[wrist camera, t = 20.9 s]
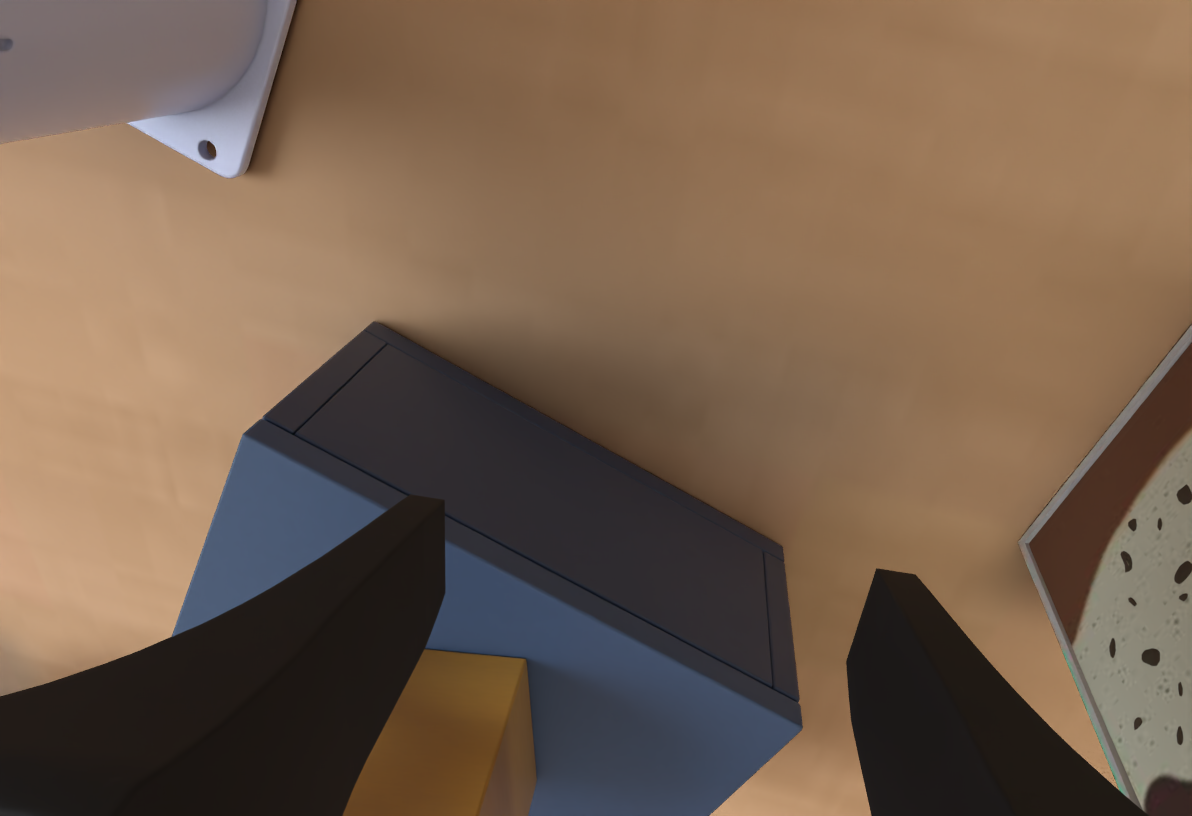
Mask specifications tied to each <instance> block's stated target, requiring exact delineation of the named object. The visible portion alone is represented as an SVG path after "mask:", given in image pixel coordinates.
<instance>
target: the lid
mask: <svg viewBox="0 0 1192 816" xmlns="http://www.w3.org/2000/svg"><path fill="white" fill-rule="evenodd" d="M406 497H407V495H405V494H403V493H401V492H399V491H397V490H396V489H394V488H392V487H390V486H388V485H386V484H384V483H382V482H381V481H379V480H377V479H375V478H373V477H371V476H369V475H367V474H365V473H364V472H362V471H360V470H358V469H356V468H354V467H352V466H350V465H348V464H347V463H345V462H343V461H341V460H339V459H337V458H335V457H333V456H331V455H330V454H328V453H326V452H324V451H322V450H320V449H318V448H316V447H314V446H313V445H311V444H309V443H307V442H305V441H303V440H301V439H299V438H298V437H296V436H294V435H292V434H290V433H288V432H286V431H284V430H282V429H281V428H279V427H277V426H275V425H273V424H271V423H269V422H267V421H265V420H263V419H260V420H259V421H257V422H256V423H255V424H254V425H253V426H252V427H251V428H249V429H248V430H247V431H246V432H245V433H244V434H243V435H242V438H241V440H240V443H239V446H238V449H237V452H236V455H235V458H234V460H233V463H232V466H231V469H230V472H229V475H228V477H227V480H226V483H225V486H224V489H223V492H222V495H221V497H220V500H219V503H218V506H217V509H216V512H215V515H214V517H213V520H212V523H211V526H210V529H209V532H208V535H207V537H206V540H205V543H204V546H203V549H202V552H201V554H200V557H199V560H198V563H197V566H196V569H195V572H194V574H193V577H192V580H191V583H190V586H189V589H188V592H187V594H186V597H185V600H184V603H183V606H182V609H181V611H180V614H179V617H178V620H177V623H176V626H175V629H174V631H173V634H172V636H175V635H177V634H179V633H182V632H184V631H186V630H189V629H191V628H193V627H196V626H198V625H200V624H202V623H204V622H207V621H209V620H211V619H213V618H215V617H217V616H219V615H221V614H223V613H225V612H227V611H229V610H231V609H233V608H235V607H237V606H238V605H240V604H242V603H244V602H246V601H248V600H250V599H252V598H254V597H255V596H257V595H259V594H261V593H263V592H264V591H266V590H268V589H270V588H271V587H273V586H275V585H276V584H278V583H280V582H281V581H283V580H284V579H286V578H288V577H289V576H291V575H292V574H294V573H296V572H297V571H299V570H301V569H302V568H304V567H305V566H307V565H309V564H310V563H312V562H313V561H315V560H317V559H318V558H320V557H321V556H323V555H324V554H326V553H327V552H329V551H330V550H332V549H333V548H335V547H336V546H337V545H339V544H340V543H342V542H343V541H345V540H346V539H348V538H349V537H351V536H352V535H353V534H355V533H356V532H358V531H359V530H360V529H362V528H363V527H365V526H366V525H368V524H369V523H370V522H372V521H373V520H375V519H376V518H377V517H379V516H380V515H381V514H383V513H384V512H386V511H387V510H389V509H390V508H391V507H393V506H394V505H396V504H397V503H398V502H400V501H401V500H403V499H404V498H406ZM445 584H446V593H445V596H444V599H443V602H442V604H441V607H440V610H439V613H438V616H437V618H436V621H435V624H434V627H433V629H432V632H431V634H430V637H429V640H428V642H427V645H426V647H425V649H431V650H441V651H452V652H462V653H472V654H482V655H493V656H503V657H513V658H523V659H526V661H527V671H528V683H529V694H530V706H531V718H532V729H533V741H534V753H535V764H536V776H537V782H536V786H535V790H534V794H533V798H532V802H531V806H530V810H529V814H528V816H709V815H710V814H711V813H713V812H714V811H715V810H716V809H717V808H718V807H719V806H720V805H721V804H722V803H723V802H724V801H726V800H727V799H728V798H729V797H730V796H731V795H732V794H733V793H734V792H735V791H736V790H737V789H738V788H740V787H741V786H742V785H743V784H744V783H745V782H746V781H747V780H748V779H749V778H750V777H751V776H753V775H754V774H755V773H756V772H757V771H758V770H759V769H760V768H761V767H762V766H763V765H764V764H766V763H767V762H768V761H769V760H770V759H771V758H772V757H773V756H774V755H775V754H776V753H777V752H779V751H780V750H781V749H782V748H783V747H784V746H785V745H786V744H787V743H788V742H789V741H790V740H792V739H793V738H794V737H795V736H796V735H797V734H798V733H799V732H800V731H801V730H802V728H803V725H802V716H801V706H800V704H799V703H797V702H796V701H794V700H792V699H790V698H788V697H786V696H784V695H782V694H780V693H779V692H777V691H775V690H773V689H771V688H769V687H767V686H765V685H763V684H762V683H760V682H758V681H756V680H754V679H752V678H750V677H748V676H747V675H745V674H743V673H741V672H739V671H737V670H735V669H733V668H731V667H730V666H728V665H726V664H724V663H722V662H720V661H718V660H716V659H714V658H713V657H711V656H709V655H707V654H705V653H703V652H701V651H699V650H697V649H696V648H694V647H692V646H690V645H688V644H686V643H684V642H682V641H680V640H679V639H677V638H675V637H673V636H671V635H669V634H667V633H665V632H664V631H662V630H660V629H658V628H656V627H654V626H652V625H650V624H648V623H647V622H645V621H643V620H641V619H639V618H637V617H635V616H633V615H631V614H630V613H628V612H626V611H624V610H622V609H620V608H618V607H616V606H614V605H613V604H611V603H609V602H607V601H605V600H603V599H601V598H599V597H597V596H596V595H594V594H592V593H590V592H588V591H586V590H584V589H582V588H580V587H579V586H577V585H575V584H573V583H571V582H569V581H567V580H565V579H564V578H562V577H560V576H558V575H556V574H554V573H552V572H550V571H548V570H547V569H545V568H543V567H541V566H539V565H537V564H535V563H533V562H531V561H530V560H528V559H526V558H524V557H522V556H520V555H518V554H516V553H514V552H513V551H511V550H509V549H507V548H505V547H503V546H501V545H499V544H497V543H496V542H494V541H492V540H490V539H488V538H486V537H484V536H482V535H481V534H479V533H477V532H475V531H473V530H471V529H469V528H467V527H465V526H464V525H462V524H460V523H458V522H456V521H454V520H452V519H450V518H448V517H447V516H445Z"/></svg>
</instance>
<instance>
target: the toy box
mask: <svg viewBox="0 0 1192 816" xmlns="http://www.w3.org/2000/svg"><path fill="white" fill-rule="evenodd" d="M262 419H263V420H265V421H267V422H269V423H271V424H273V425H275V426H277V427H279V428H281V429H282V430H284V431H286V432H288V433H290V434H292V435H294V436H296V437H298V438H299V439H301V440H303V441H305V442H307V443H309V444H311V445H313V446H314V447H316V448H318V449H320V450H322V451H324V452H326V453H328V454H330V455H331V456H333V457H335V458H337V459H339V460H341V461H343V462H345V463H347V464H348V465H350V466H352V467H354V468H356V469H358V470H360V471H362V472H364V473H365V474H367V475H369V476H371V477H373V478H375V479H377V480H379V481H381V482H382V483H384V484H386V485H388V486H390V487H392V488H394V489H396V490H397V491H399V492H401V493H403V494H405V495H407V496H409V495H410V494H412V495H418V496H424V497H430V498H437V499H443V500H445V516H447V517H448V518H450V519H452V520H454V521H456V522H458V523H460V524H462V525H464V526H465V527H467V528H469V529H471V530H473V531H475V532H477V533H479V534H481V535H482V536H484V537H486V538H488V539H490V540H492V541H494V542H496V543H497V544H499V545H501V546H503V547H505V548H507V549H509V550H511V551H513V552H514V553H516V554H518V555H520V556H522V557H524V558H526V559H528V560H530V561H531V562H533V563H535V564H537V565H539V566H541V567H543V568H545V569H547V570H548V571H550V572H552V573H554V574H556V575H558V576H560V577H562V578H564V579H565V580H567V581H569V582H571V583H573V584H575V585H577V586H579V587H580V588H582V589H584V590H586V591H588V592H590V593H592V594H594V595H596V596H597V597H599V598H601V599H603V600H605V601H607V602H609V603H611V604H613V605H614V606H616V607H618V608H620V609H622V610H624V611H626V612H628V613H630V614H631V615H633V616H635V617H637V618H639V619H641V620H643V621H645V622H647V623H648V624H650V625H652V626H654V627H656V628H658V629H660V630H662V631H664V632H665V633H667V634H669V635H671V636H673V637H675V638H677V639H679V640H680V641H682V642H684V643H686V644H688V645H690V646H692V647H694V648H696V649H697V650H699V651H701V652H703V653H705V654H707V655H709V656H711V657H713V658H714V659H716V660H718V661H720V662H722V663H724V664H726V665H728V666H730V667H731V668H733V669H735V670H737V671H739V672H741V673H743V674H745V675H747V676H748V677H750V678H752V679H754V680H756V681H758V682H760V683H762V684H763V685H765V686H767V687H769V688H771V689H773V690H775V691H777V692H779V693H780V694H782V695H784V696H786V697H788V698H790V699H792V700H794V701H796V702H797V703H798V702H799V699H800V697H799V689H798V680H797V671H796V662H795V653H794V644H793V635H792V626H791V617H790V608H789V600H788V591H787V582H786V573H785V564H784V553H783V547H782V546H780V545H779V544H777V543H775V542H773V541H771V540H770V539H768V538H766V537H764V536H762V535H761V534H759V533H757V532H755V531H753V530H752V529H750V528H748V527H746V526H744V525H742V524H741V523H739V522H737V521H735V520H733V519H732V518H730V517H728V516H726V515H724V514H723V513H721V512H719V511H717V510H715V509H714V508H712V507H710V506H708V505H706V504H705V503H703V502H701V501H699V500H697V499H695V498H694V497H692V496H690V495H688V494H686V493H685V492H683V491H681V490H679V489H677V488H676V487H674V486H672V485H670V484H668V483H667V482H665V481H663V480H661V479H659V478H658V477H656V476H654V475H652V474H650V473H649V472H647V471H645V470H643V469H641V468H639V467H638V466H636V465H634V464H632V463H630V462H629V461H627V460H625V459H623V458H621V457H620V456H618V455H616V454H614V453H612V452H611V451H609V450H607V449H605V448H603V447H602V446H600V445H598V444H596V443H594V442H592V441H591V440H589V439H587V438H585V437H583V436H582V435H580V434H578V433H576V432H574V431H573V430H571V429H569V428H567V427H565V426H564V425H562V424H560V423H558V422H556V421H555V420H553V419H551V418H549V417H547V416H546V415H544V414H542V413H540V412H538V411H536V410H535V409H533V408H531V407H529V406H527V405H526V404H524V403H522V402H520V401H518V400H517V399H515V398H513V397H511V396H509V395H508V394H506V393H504V392H502V391H500V390H499V389H497V388H495V387H493V386H491V385H489V384H488V383H486V382H484V381H482V380H480V379H479V378H477V377H475V376H473V375H471V374H470V373H468V372H466V371H464V370H462V369H461V368H459V367H457V366H455V365H453V364H452V363H450V362H448V361H446V360H444V359H443V358H441V357H439V356H437V355H435V354H433V353H432V352H430V351H428V350H426V349H424V348H423V347H421V346H419V345H417V344H415V343H414V342H412V341H410V340H408V339H406V338H405V337H403V336H401V335H399V334H397V333H396V332H394V331H392V330H390V329H388V328H386V327H385V326H383V325H381V324H379V323H377V322H375V321H374V322H372V323H371V324H370V325H369V326H368V327H367V328H365V329H364V330H363V331H362V332H361V333H359V334H358V335H357V336H356V337H355V338H354V339H352V340H351V341H350V342H349V343H348V344H347V345H346V346H344V347H343V348H342V349H341V350H340V351H339V352H337V353H336V354H335V355H334V356H333V357H332V358H330V359H329V360H328V361H327V362H326V363H325V364H323V365H322V366H321V367H320V368H319V369H318V370H316V371H315V372H314V373H313V374H312V375H311V376H309V377H308V378H307V379H306V380H305V381H304V382H302V383H301V384H300V385H299V386H298V387H297V388H295V389H294V390H293V391H292V392H291V393H290V394H288V395H287V396H286V397H285V398H284V399H283V400H281V401H280V402H279V403H278V404H277V405H276V406H274V407H273V408H272V409H271V410H270V411H269V412H267V413H266V414H265V415H264V416H263V418H262Z"/></svg>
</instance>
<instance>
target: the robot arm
mask: <svg viewBox="0 0 1192 816" xmlns="http://www.w3.org/2000/svg"><path fill="white" fill-rule="evenodd" d="M296 2H297V0H0V144H2V143H8V142H14V141H20V140H26V139H32V138H38V137H44V136H50V135H55V134H61V133H67V132H73V131H79V130H85V129H91V128H97V127H103V126H109V125H114V124H120V123H127V124H129V125H131V126H133V127H135V128H136V129H138V130H140V131H142V132H143V133H145V134H147V135H149V136H151V137H152V138H154V139H156V140H158V141H159V142H161V143H163V144H165V145H167V146H168V147H170V148H172V149H174V150H175V151H177V152H179V153H181V154H183V155H184V156H186V157H188V158H190V159H191V160H193V161H195V162H197V163H199V164H200V165H202V166H204V167H206V168H207V169H209V170H211V171H213V172H215V173H216V174H218V175H220V176H222V177H225V178H235V177H238V176H241V175H242V174H244V173H245V172H246V170H247V168H248V166H249V163H250V159H251V156H252V152H253V149H254V145H255V142H256V139H257V135H258V132H259V128H260V125H261V122H262V118H263V115H264V111H265V108H266V104H267V101H268V98H269V94H270V91H271V87H272V84H273V80H274V77H275V74H276V70H277V67H278V63H279V60H280V57H281V53H282V50H283V46H284V43H285V39H286V36H287V33H288V29H289V26H290V22H291V19H292V16H293V12H294V9H295V5H296ZM208 141H210V142H211V143H212V144H213V145H214V146H215V148H216V157H213V156H212V155H211V154H210V153H209V151H208V149H207V142H208ZM445 593H446V584H445V500H443V499H437V498H430V497H424V496H418V495H412V494H410V495H409V496H407V497H406V498H404V499H403V500H401V501H400V502H398V503H397V504H396V505H394V506H393V507H391V508H390V509H389V510H387V511H386V512H384V513H383V514H381V515H380V516H379V517H377V518H376V519H375V520H373V521H372V522H370V523H369V524H368V525H366V526H365V527H363V528H362V529H360V530H359V531H358V532H356V533H355V534H353V535H352V536H351V537H349V538H348V539H346V540H345V541H343V542H342V543H340V544H339V545H337V546H336V547H335V548H333V549H332V550H330V551H329V552H327V553H326V554H324V555H323V556H321V557H320V558H318V559H317V560H315V561H313V562H312V563H310V564H309V565H307V566H305V567H304V568H302V569H301V570H299V571H297V572H296V573H294V574H292V575H291V576H289V577H288V578H286V579H284V580H283V581H281V582H280V583H278V584H276V585H275V586H273V587H271V588H270V589H268V590H266V591H264V592H263V593H261V594H259V595H257V596H255V597H254V598H252V599H250V600H248V601H246V602H244V603H242V604H240V605H238V606H237V607H235V608H233V609H231V610H229V611H227V612H225V613H223V614H221V615H219V616H217V617H215V618H213V619H211V620H209V621H207V622H204V623H202V624H200V625H198V626H196V627H193V628H191V629H189V630H186V631H184V632H182V633H179V634H177V635H175V636H172V637H170V638H168V639H165V640H163V641H161V642H159V643H156V644H154V645H152V646H149V647H147V648H145V649H142V650H140V651H137V652H135V653H132V654H130V655H127V656H124V657H122V658H119V659H116V660H114V661H111V662H108V663H105V664H103V665H100V666H97V667H94V668H91V669H88V670H85V671H83V672H80V673H77V674H74V675H71V676H68V677H65V678H62V679H59V680H56V681H53V682H49V683H46V684H43V685H40V686H36V687H33V688H29V689H26V690H22V691H19V692H15V693H12V694H8V695H5V696H1V697H0V816H343V813H344V811H345V808H346V806H347V803H348V801H349V798H350V796H351V793H352V791H353V788H354V786H355V784H356V782H357V780H358V777H359V775H360V773H361V771H362V769H363V767H364V765H365V763H366V760H367V758H368V757H369V755H370V753H371V751H372V749H373V747H374V745H375V743H376V741H377V739H378V737H379V736H380V734H381V732H382V730H383V728H384V726H385V724H386V722H387V720H388V718H389V716H390V715H391V713H392V711H393V709H394V707H395V705H396V703H397V701H398V699H399V697H400V696H401V694H402V692H403V690H404V688H405V686H406V684H407V682H408V680H409V678H410V676H411V674H412V672H413V670H414V669H415V667H416V665H417V663H418V661H419V659H420V657H421V655H422V653H423V651H424V649H425V647H426V645H427V642H428V640H429V637H430V634H431V632H432V629H433V627H434V624H435V621H436V618H437V616H438V613H439V610H440V607H441V604H442V602H443V599H444V596H445ZM846 664H847V678H848V691H849V702H850V713H851V722H852V727H853V732H854V737H855V741H856V746H857V751H858V755H859V760H860V765H861V769H862V774H863V778H864V783H865V788H866V792H867V797H868V801H869V806H870V810H871V815H872V816H1149V815H1148V814H1147V813H1145V812H1144V811H1143V810H1142V809H1140V808H1139V807H1138V806H1137V805H1136V804H1134V803H1133V802H1132V801H1131V800H1130V799H1129V798H1127V797H1126V796H1125V795H1124V794H1123V793H1121V792H1120V791H1119V790H1118V789H1117V788H1116V787H1114V786H1113V785H1112V784H1111V783H1110V782H1109V781H1108V780H1107V779H1106V778H1104V777H1103V776H1102V775H1101V774H1100V773H1099V772H1098V771H1097V770H1096V769H1095V768H1093V767H1092V766H1091V765H1090V764H1089V763H1088V762H1087V761H1086V760H1085V759H1083V758H1082V757H1081V756H1080V755H1079V754H1078V753H1077V752H1076V751H1075V750H1074V749H1072V748H1071V747H1070V746H1069V745H1068V744H1067V743H1066V742H1065V741H1064V740H1063V739H1062V738H1061V737H1060V736H1059V735H1058V734H1057V733H1056V732H1055V731H1054V730H1053V729H1052V728H1051V727H1050V726H1049V725H1048V724H1047V723H1046V722H1045V721H1044V720H1043V719H1042V718H1041V717H1040V716H1039V715H1038V714H1037V713H1036V712H1035V711H1034V710H1033V709H1032V708H1031V707H1030V706H1029V705H1028V704H1027V702H1026V701H1025V700H1024V699H1023V698H1022V697H1021V696H1020V695H1019V694H1018V693H1017V692H1016V691H1015V690H1014V689H1013V688H1012V687H1011V685H1010V684H1009V683H1008V682H1007V681H1006V680H1005V679H1004V678H1003V677H1002V676H1001V675H1000V673H999V672H998V671H997V670H996V669H995V668H994V667H993V666H992V664H991V663H990V662H989V661H988V660H987V659H986V658H985V656H984V655H983V654H982V653H981V652H980V651H979V650H978V648H977V647H976V646H975V645H974V644H973V642H972V641H971V640H970V639H969V638H968V637H967V635H966V634H965V633H964V632H963V631H962V629H961V628H960V627H959V626H958V625H957V623H956V622H955V621H954V620H953V619H952V617H951V616H950V615H949V614H948V613H947V611H946V610H945V609H944V608H943V607H942V605H941V604H940V603H939V602H938V601H937V599H936V598H935V597H934V596H933V595H932V593H931V592H930V591H929V590H928V589H927V587H926V586H925V585H924V584H923V583H922V582H921V580H920V579H919V578H918V577H917V576H916V575H915V574H909V573H902V572H896V571H890V570H884V569H877V568H876V571H875V575H874V578H873V581H872V584H871V587H870V590H869V593H868V596H867V599H866V602H865V605H864V608H863V611H862V615H861V618H860V621H859V624H858V627H857V630H856V633H855V636H854V639H853V642H852V645H851V648H850V651H849V655H848V658H847V661H846Z"/></svg>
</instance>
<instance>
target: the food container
mask: <svg viewBox="0 0 1192 816" xmlns="http://www.w3.org/2000/svg"><path fill="white" fill-rule="evenodd" d="M1018 545H1019V547H1020V550H1021V552H1022V554H1023V557H1024V559H1025V562H1026V564H1027V567H1028V569H1029V571H1030V574H1031V576H1032V579H1033V581H1034V584H1035V586H1036V588H1037V591H1038V593H1039V596H1040V598H1041V601H1042V603H1043V605H1044V608H1045V610H1046V613H1047V615H1048V618H1049V620H1050V622H1051V625H1052V627H1053V630H1054V632H1055V635H1056V637H1057V639H1058V642H1059V644H1060V647H1061V649H1062V652H1063V654H1064V656H1065V659H1066V661H1067V664H1068V666H1069V669H1070V671H1071V673H1072V676H1073V678H1074V681H1075V683H1076V686H1077V688H1078V690H1079V693H1080V695H1081V698H1082V700H1083V703H1084V705H1085V707H1086V710H1087V712H1088V715H1089V717H1090V720H1091V722H1092V724H1093V727H1094V729H1095V732H1096V734H1097V737H1098V739H1099V741H1100V744H1101V746H1102V749H1103V751H1104V754H1105V756H1106V758H1107V761H1108V763H1109V766H1110V768H1111V771H1112V773H1113V775H1114V778H1115V780H1116V783H1117V785H1118V788H1119V790H1120V792H1121V793H1123V794H1124V795H1125V796H1126V797H1127V798H1129V799H1130V800H1131V801H1132V802H1133V803H1134V804H1136V805H1137V806H1138V807H1139V808H1140V809H1142V810H1143V811H1144V812H1145V813H1147V814H1148V815H1149V816H1192V325H1191V326H1190V328H1189V329H1188V330H1187V331H1186V333H1185V334H1184V335H1183V336H1182V338H1181V339H1180V340H1179V341H1178V343H1177V344H1176V345H1175V346H1174V348H1173V349H1172V350H1171V351H1170V353H1169V354H1168V355H1167V356H1166V358H1165V359H1164V360H1163V361H1162V363H1161V364H1160V365H1159V366H1158V368H1157V369H1156V370H1155V371H1154V373H1153V374H1152V375H1151V376H1150V378H1149V379H1148V380H1147V381H1146V383H1145V384H1144V385H1143V386H1142V388H1141V389H1140V390H1139V391H1138V393H1137V394H1136V395H1135V396H1134V398H1133V399H1132V400H1131V401H1130V403H1129V404H1128V405H1127V406H1126V408H1125V409H1124V410H1123V411H1122V413H1121V414H1120V415H1119V416H1118V418H1117V419H1116V420H1115V421H1114V423H1113V424H1112V425H1111V426H1110V428H1109V429H1108V430H1107V431H1106V433H1105V434H1104V435H1103V436H1102V438H1101V439H1100V440H1099V441H1098V443H1097V444H1096V445H1095V446H1094V448H1093V449H1092V450H1091V451H1090V453H1089V454H1088V455H1087V456H1086V458H1085V459H1084V460H1083V461H1082V463H1081V464H1080V465H1079V466H1078V468H1077V469H1076V470H1075V471H1074V473H1073V474H1072V475H1071V476H1070V478H1069V479H1068V480H1067V481H1066V483H1065V484H1064V485H1063V486H1062V488H1061V489H1060V490H1059V491H1058V493H1057V494H1056V495H1055V496H1054V498H1053V499H1052V500H1051V501H1050V503H1049V504H1048V505H1047V506H1046V508H1045V509H1044V510H1043V511H1042V513H1041V514H1040V515H1039V516H1038V518H1037V519H1036V520H1035V521H1034V523H1033V524H1032V525H1031V526H1030V528H1029V529H1028V530H1027V531H1026V533H1025V534H1024V535H1023V536H1022V538H1021V539H1020V540H1019V542H1018Z"/></svg>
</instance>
